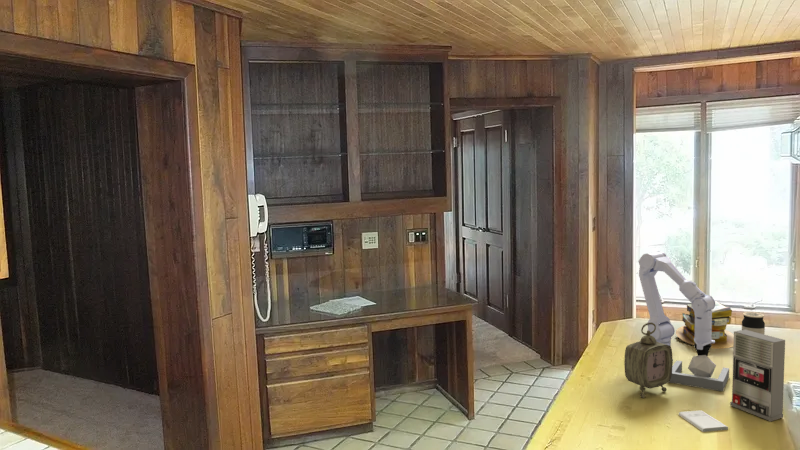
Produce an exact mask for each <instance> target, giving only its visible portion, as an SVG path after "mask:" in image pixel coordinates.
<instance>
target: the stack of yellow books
mask: <svg viewBox="0 0 800 450" xmlns="http://www.w3.org/2000/svg"><path fill="white" fill-rule="evenodd" d="M714 301H715V307H714V309H712V336H711V340H715V343H710V344H711V345H712V346H711V348H710V349H716V350H717V349H719V350H720V349H730V348H733V347H734V332H731V331H729V330H727V326H728V325H731V323H732V321H731V320H732V318H731V317H732V315H733V310H732V309H731V306H726V305H724V304H723V303H721V302H719V301H716V300H714ZM691 304H692V303H688V304H686V311H687V312H688V313H684V312H682V320H681V321H682V322H683V323H684V325H682V326H680V327H678V328H677V329H676V330H675V334H676V337H678V338H679V340H681V341H683V342H685V343H687V344H689V345H692V346H694V344H696V343H695V342H694V337H695V315H694V310H693V308H692V305H691ZM710 311H711V310H710Z"/></svg>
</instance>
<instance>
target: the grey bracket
mask: <svg viewBox="0 0 800 450" xmlns="http://www.w3.org/2000/svg"><path fill="white" fill-rule="evenodd" d="M682 371H683V361H682V360H676V361H675V362H673V365H672V375H671V379H670V381H669V382H668V383H671V384H678V385H682V386H689V387H694V388H701V389H707V390H713V391H718V392H724V390H725V388H726V386H727V384H728V380H729V378H730V367H724V366H723V367H722V368H721V371H720V373H719V376H718V377H717V378H713V377H703V376H696V375H694V374H689V373H683V372H682ZM681 372H682V373H681Z"/></svg>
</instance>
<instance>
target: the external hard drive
mask: <svg viewBox="0 0 800 450" xmlns="http://www.w3.org/2000/svg"><path fill="white" fill-rule="evenodd" d="M678 416H679V417H681V418H682V419H684V420H685V421H686V422H688V423H689V424H691V425H692V426H694V427H695V428H697V429H698V430H699V431H701V432H703V433H705V432H715V431H716V432H717V431H726V430H729V426H727V425H726V424H724V423H722V421H720V420H718V419H716V418H715V417H713V416H711V415H710V414H708V413H706V412H705V411H704V410H701V409H700V410H699V409H698V410H689V411H687V410H686V411H680V412H678Z"/></svg>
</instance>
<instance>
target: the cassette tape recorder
mask: <svg viewBox="0 0 800 450" xmlns="http://www.w3.org/2000/svg"><path fill="white" fill-rule="evenodd" d="M733 334H734V346H733V347H732V348H733V352H732V383H731V384H732V386H731V387H732V388H731V389H732V391H731V393H732V394H731V401H730V403H729V405H730V406H731V407H732V408H735V409H739V410H741V411H743V412H747V413H748V414H751V415H754V416H756V417H759V418H761V419H763V420H766V421H768V422H773V421H776V420H779V419H780V418H781V419H782V418H784V414H783V413H784V412H783V411H784V409H783V408H784V386H785V385H784V384H785V383H784V382H785V381H784V379H785V357H786V356H785V355H786V339H783V338H780V337H775V336H772V335H771V336H770V335H769V334H760V333H757V332H753V331H749V330H742V329H740V330H736V331H733Z"/></svg>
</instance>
